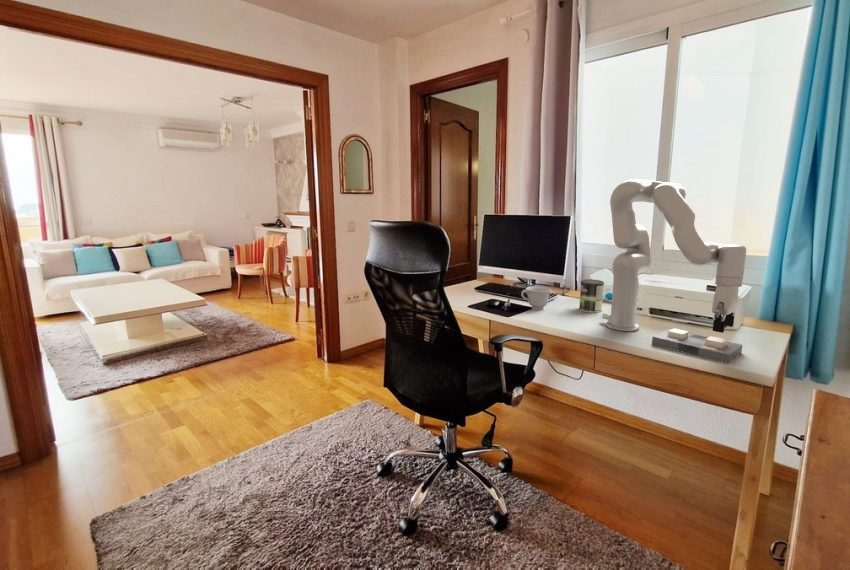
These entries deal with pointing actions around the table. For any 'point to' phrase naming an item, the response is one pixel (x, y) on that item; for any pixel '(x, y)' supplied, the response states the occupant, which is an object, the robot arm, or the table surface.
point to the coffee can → (591, 295)
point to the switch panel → (698, 346)
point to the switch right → (716, 342)
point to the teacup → (537, 296)
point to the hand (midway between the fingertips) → (722, 328)
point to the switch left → (678, 334)
